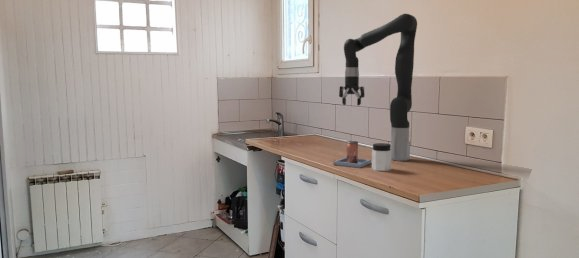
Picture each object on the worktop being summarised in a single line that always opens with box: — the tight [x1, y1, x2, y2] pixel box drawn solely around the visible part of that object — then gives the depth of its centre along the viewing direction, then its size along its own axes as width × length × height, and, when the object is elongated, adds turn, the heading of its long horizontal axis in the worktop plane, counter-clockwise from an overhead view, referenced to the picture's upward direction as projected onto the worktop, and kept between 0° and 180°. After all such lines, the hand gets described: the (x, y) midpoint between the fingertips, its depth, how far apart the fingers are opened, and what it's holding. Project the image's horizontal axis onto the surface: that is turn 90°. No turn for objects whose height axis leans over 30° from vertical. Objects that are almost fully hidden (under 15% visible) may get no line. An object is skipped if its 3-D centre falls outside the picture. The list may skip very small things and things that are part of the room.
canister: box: [345, 140, 359, 164], centre depth 221 cm, size 6×6×11 cm
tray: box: [333, 156, 372, 169], centre depth 221 cm, size 14×14×2 cm
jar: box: [371, 142, 392, 172], centre depth 208 cm, size 9×8×12 cm
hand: (351, 105), depth 246 cm, fingers open, 8 cm apart
